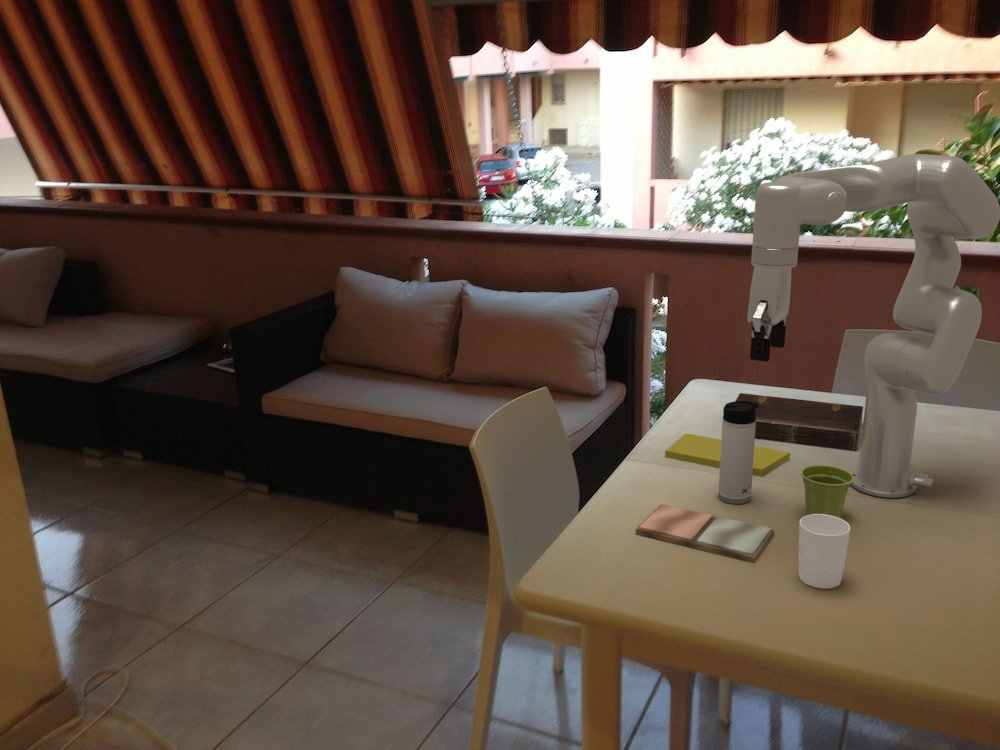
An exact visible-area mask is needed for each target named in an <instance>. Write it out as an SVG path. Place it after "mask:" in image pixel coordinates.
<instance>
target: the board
mask: <svg viewBox="0 0 1000 750" xmlns="http://www.w3.org/2000/svg"><path fill="white" fill-rule="evenodd" d="M635 535H638V536H642V537H646V538H650V539H654V540H658V541H663V542H666V543H671V544H675V545H678V546H683V547H688V548H692V549H696V550H700V551H704V552H708V553H712V554H715V555H720V556H725V557H727V558H733V559H736V560H741V561H745V562H748V563H753V564H754V563H755V562H756V561H757V559H758V558H759V557H760V555H761V554H762V552H763V551H764V550H765V548H766V547H767V545H768V544H769V543H770V540H772V538H773V537H774V535H775V529H771V527H766V526H762V525H758V524H753V523H748V522H743V521H739V520H736V519H731V518H726V517H720V516H714V515H712V514H707V513H703V512H699V511H694V510H690V509H685V508H679V507H678V506H677V507H676V506H673V505H668V504H659V505H658V506H657V507H656V508H655V509H654V510H653V512H651V513H650V514H649V516H647V518H646V519H644V520H643V521H642V522H641V524H639V525H638V526H637V527H636V528H635Z"/></svg>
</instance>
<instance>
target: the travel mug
mask: <svg viewBox="0 0 1000 750" xmlns="http://www.w3.org/2000/svg"><path fill="white" fill-rule="evenodd" d="M756 408H757V409H758V408H759V405H758V403H757V402H750V401H736V400H735V401H731V402H728V403H726V404H724V406H723V409H722V410H723V411H722V413H723V415H722V423H721V424H722V425H721V426H722V427H721V439H720V440H721V458H720V468H719V476H718V478H719V479H718V498H719V500H721V501H722V502H724V503H727V504H730V505H731V504H732V505H744V504H746V503H749V502H750V501H751V498H752V484H753V475H752V472H753V457H754V446H755V440H756V439H755V427H756V424H755V423H756Z"/></svg>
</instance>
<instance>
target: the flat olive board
mask: <svg viewBox="0 0 1000 750" xmlns="http://www.w3.org/2000/svg"><path fill="white" fill-rule="evenodd" d="M721 440H722V439H721V438H713V437H708V436H703V435H697V434H692V433H687V432H686V433H684V434H683V435H682V436H681V437H680V438H679V439H677V440H676V441H675V442H674V443H672V445H670V446H669V447H668V448H667V449H665V453H664V455H665V457H664V458H667V459H672V460H676V461H677V460H678V461H681V462H688V463H693V464H696V465H701V466H705V467H706V466H707V467H712V468H716V469H720V458H721ZM790 458H791V452H790V451H784V450H780V449H773V448H769V447H762V446H759V445H758V446H756V445H754V457H753V472H752V476H756V477H761V478H762V477H764V476H765V475H767V474H768V473H771V472H772V471H773V470H775V469H777V468H778V467H780V466H782V465H784V464H785V463H787V462H789V461H790Z"/></svg>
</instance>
